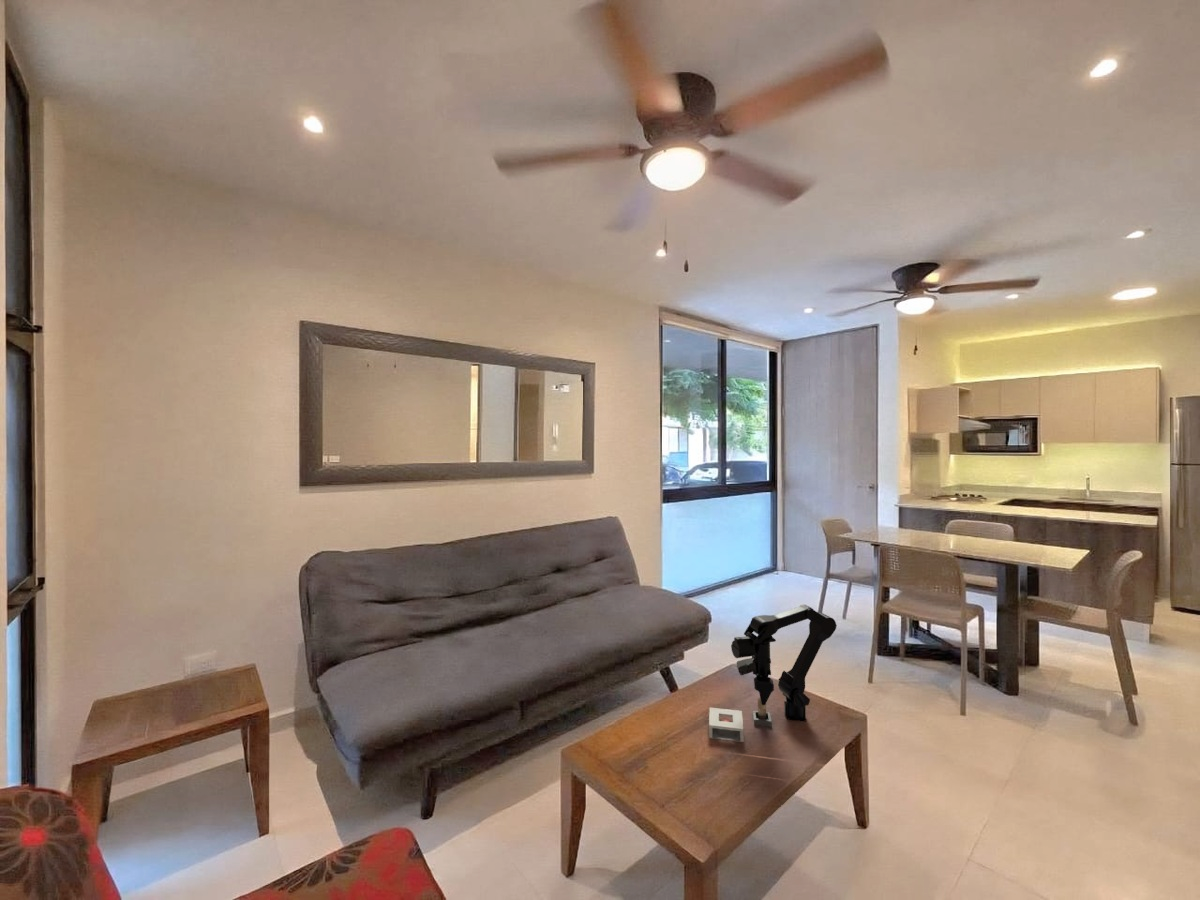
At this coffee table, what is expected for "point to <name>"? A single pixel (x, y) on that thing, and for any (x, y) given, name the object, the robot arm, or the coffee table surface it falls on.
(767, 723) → the holder
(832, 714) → the coffee table surface
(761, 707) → the beige rounded rod
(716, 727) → the breaker box
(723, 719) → the breaker button
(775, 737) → the coffee table surface
